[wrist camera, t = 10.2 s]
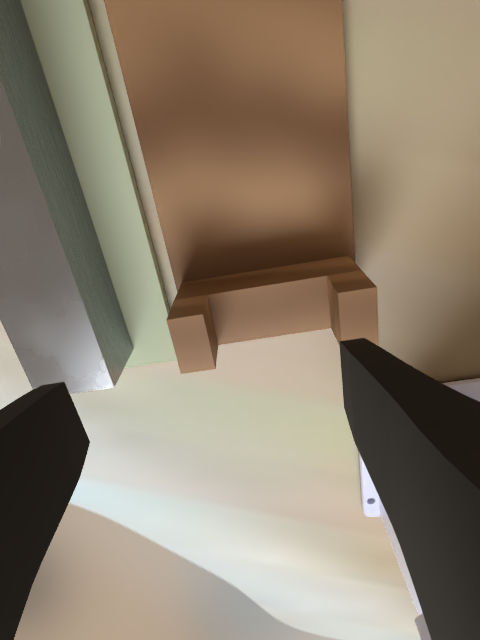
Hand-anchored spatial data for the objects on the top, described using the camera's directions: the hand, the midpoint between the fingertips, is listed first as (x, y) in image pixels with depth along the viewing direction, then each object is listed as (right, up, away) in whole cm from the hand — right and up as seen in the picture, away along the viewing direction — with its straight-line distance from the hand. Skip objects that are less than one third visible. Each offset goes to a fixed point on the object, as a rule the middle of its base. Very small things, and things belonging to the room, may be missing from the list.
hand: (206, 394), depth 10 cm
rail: (-8, +8, +6) cm, 13 cm away
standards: (+1, +10, +6) cm, 12 cm away
